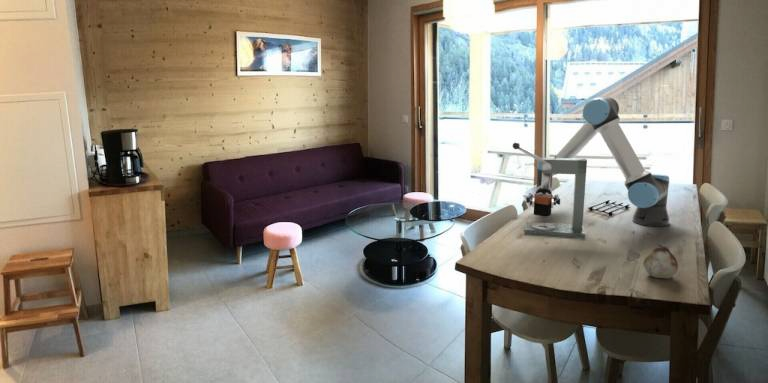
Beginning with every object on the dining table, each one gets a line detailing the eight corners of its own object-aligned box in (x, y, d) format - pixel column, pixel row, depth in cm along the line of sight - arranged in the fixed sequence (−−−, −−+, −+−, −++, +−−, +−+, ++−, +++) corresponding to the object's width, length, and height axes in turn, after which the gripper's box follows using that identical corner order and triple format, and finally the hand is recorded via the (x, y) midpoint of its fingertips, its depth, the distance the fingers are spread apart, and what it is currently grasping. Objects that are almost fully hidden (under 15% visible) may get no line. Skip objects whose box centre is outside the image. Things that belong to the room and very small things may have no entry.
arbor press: (582, 229, 221) (588, 140, 213) (584, 238, 209) (591, 144, 200) (511, 224, 231) (514, 139, 223) (509, 233, 218) (512, 142, 210)
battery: (537, 212, 229) (538, 192, 226) (551, 215, 224) (552, 193, 222) (533, 214, 225) (534, 193, 223) (547, 217, 221) (548, 195, 219)
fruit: (643, 279, 164) (646, 245, 162) (640, 269, 173) (643, 237, 170) (678, 283, 161) (682, 248, 158) (673, 273, 169) (677, 240, 167)
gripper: (565, 202, 238) (566, 214, 217) (521, 200, 244) (518, 211, 223) (566, 187, 236) (567, 197, 215) (522, 185, 243) (519, 195, 221)
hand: (542, 204), depth 219 cm, fingers closed on battery, 8 cm apart
